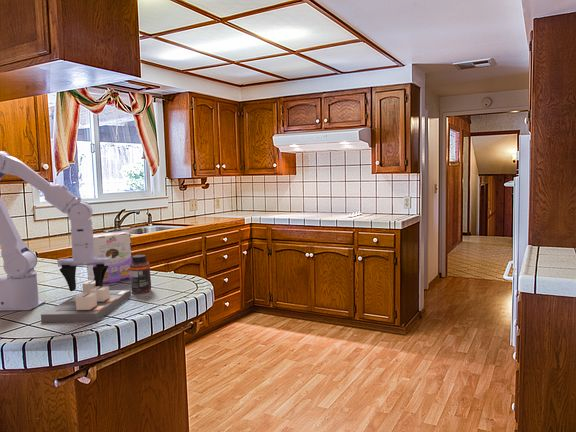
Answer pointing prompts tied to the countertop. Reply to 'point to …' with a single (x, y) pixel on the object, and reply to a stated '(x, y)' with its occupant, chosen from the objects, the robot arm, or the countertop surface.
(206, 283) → the countertop surface
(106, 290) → the knob
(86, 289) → the knob
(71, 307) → the panel
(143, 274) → the supplement bottle
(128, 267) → the candy box
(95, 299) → the slotted white cube
